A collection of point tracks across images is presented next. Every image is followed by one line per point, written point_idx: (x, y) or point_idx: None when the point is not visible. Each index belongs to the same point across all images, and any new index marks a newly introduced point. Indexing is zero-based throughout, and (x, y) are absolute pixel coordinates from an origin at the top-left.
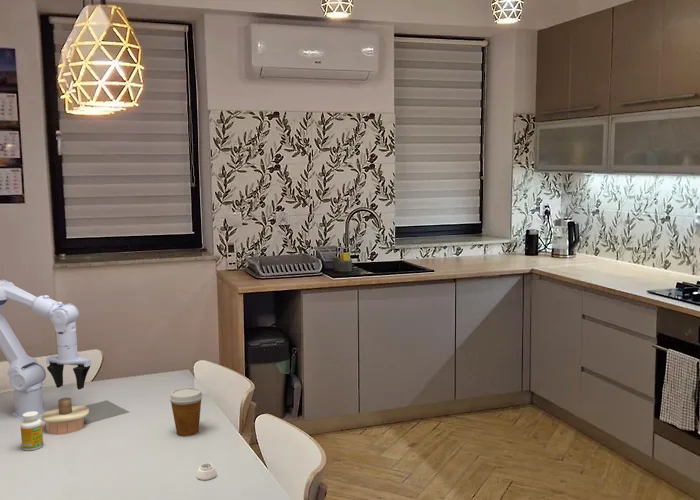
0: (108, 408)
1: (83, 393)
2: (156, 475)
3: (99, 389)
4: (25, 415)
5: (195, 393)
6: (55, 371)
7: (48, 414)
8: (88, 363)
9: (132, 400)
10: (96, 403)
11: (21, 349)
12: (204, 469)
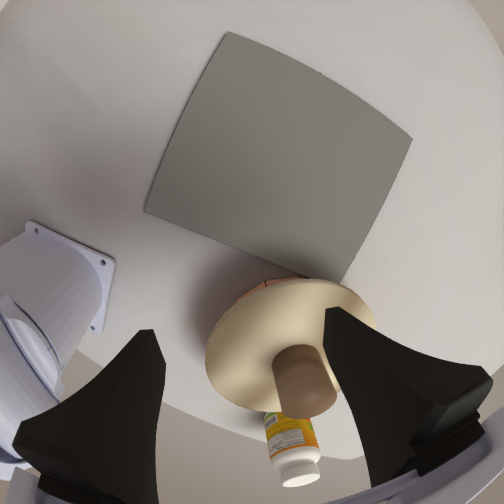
0: (315, 117)
1: (64, 24)
2: (490, 358)
3: None
4: (297, 485)
5: None
6: (150, 474)
7: (244, 391)
8: (497, 440)
9: (325, 6)
10: (209, 77)
11: None
12: None
